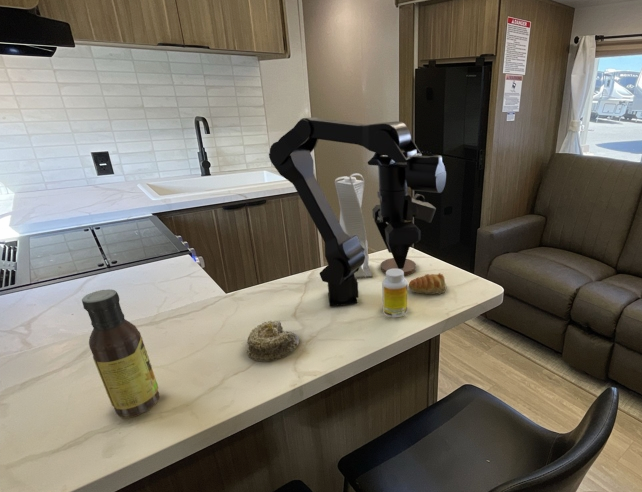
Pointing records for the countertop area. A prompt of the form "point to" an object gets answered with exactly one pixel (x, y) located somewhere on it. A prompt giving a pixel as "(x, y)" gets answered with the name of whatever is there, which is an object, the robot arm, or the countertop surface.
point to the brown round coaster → (391, 264)
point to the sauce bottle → (120, 356)
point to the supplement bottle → (394, 293)
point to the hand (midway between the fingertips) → (395, 259)
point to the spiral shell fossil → (270, 342)
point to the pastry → (428, 284)
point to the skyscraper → (353, 215)
